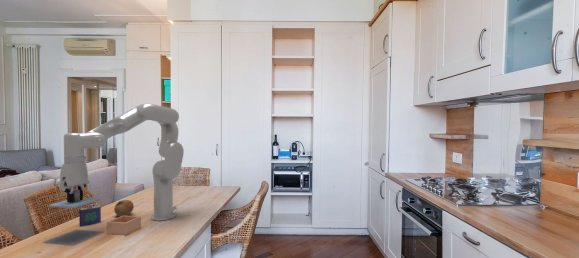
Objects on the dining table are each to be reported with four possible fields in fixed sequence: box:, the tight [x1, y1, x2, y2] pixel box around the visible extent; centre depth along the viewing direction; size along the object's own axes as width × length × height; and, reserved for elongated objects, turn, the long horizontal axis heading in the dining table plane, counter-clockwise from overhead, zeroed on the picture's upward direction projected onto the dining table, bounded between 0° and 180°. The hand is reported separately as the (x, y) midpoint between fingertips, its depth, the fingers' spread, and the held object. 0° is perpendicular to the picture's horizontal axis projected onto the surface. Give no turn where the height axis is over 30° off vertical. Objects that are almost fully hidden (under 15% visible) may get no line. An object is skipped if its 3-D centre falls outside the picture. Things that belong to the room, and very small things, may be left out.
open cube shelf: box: [106, 215, 142, 237], centre depth 135 cm, size 10×10×6 cm
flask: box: [78, 203, 102, 228], centre depth 145 cm, size 9×3×11 cm, turn 138°
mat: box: [42, 229, 104, 246], centre depth 128 cm, size 16×16×1 cm
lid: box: [48, 189, 101, 209], centre depth 128 cm, size 13×13×6 cm
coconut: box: [113, 199, 135, 217], centre depth 160 cm, size 10×9×10 cm
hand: (75, 200), depth 128 cm, fingers closed on lid, 3 cm apart
